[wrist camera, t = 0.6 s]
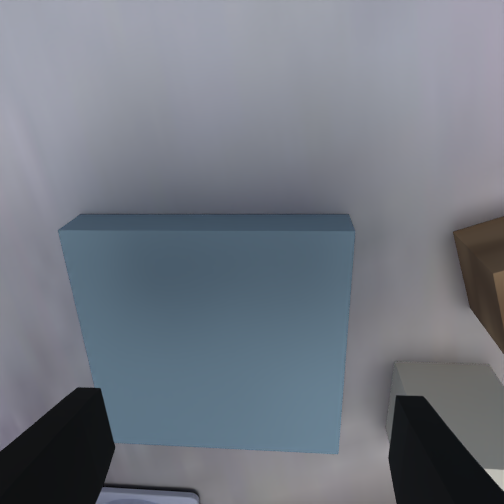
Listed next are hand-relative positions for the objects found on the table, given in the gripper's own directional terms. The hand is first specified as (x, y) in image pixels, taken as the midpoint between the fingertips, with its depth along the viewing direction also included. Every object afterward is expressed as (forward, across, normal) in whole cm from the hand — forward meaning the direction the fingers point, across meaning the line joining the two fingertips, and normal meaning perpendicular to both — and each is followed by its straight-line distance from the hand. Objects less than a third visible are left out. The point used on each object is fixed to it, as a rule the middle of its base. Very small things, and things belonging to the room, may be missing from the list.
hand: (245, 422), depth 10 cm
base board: (+10, +2, +4) cm, 11 cm away
